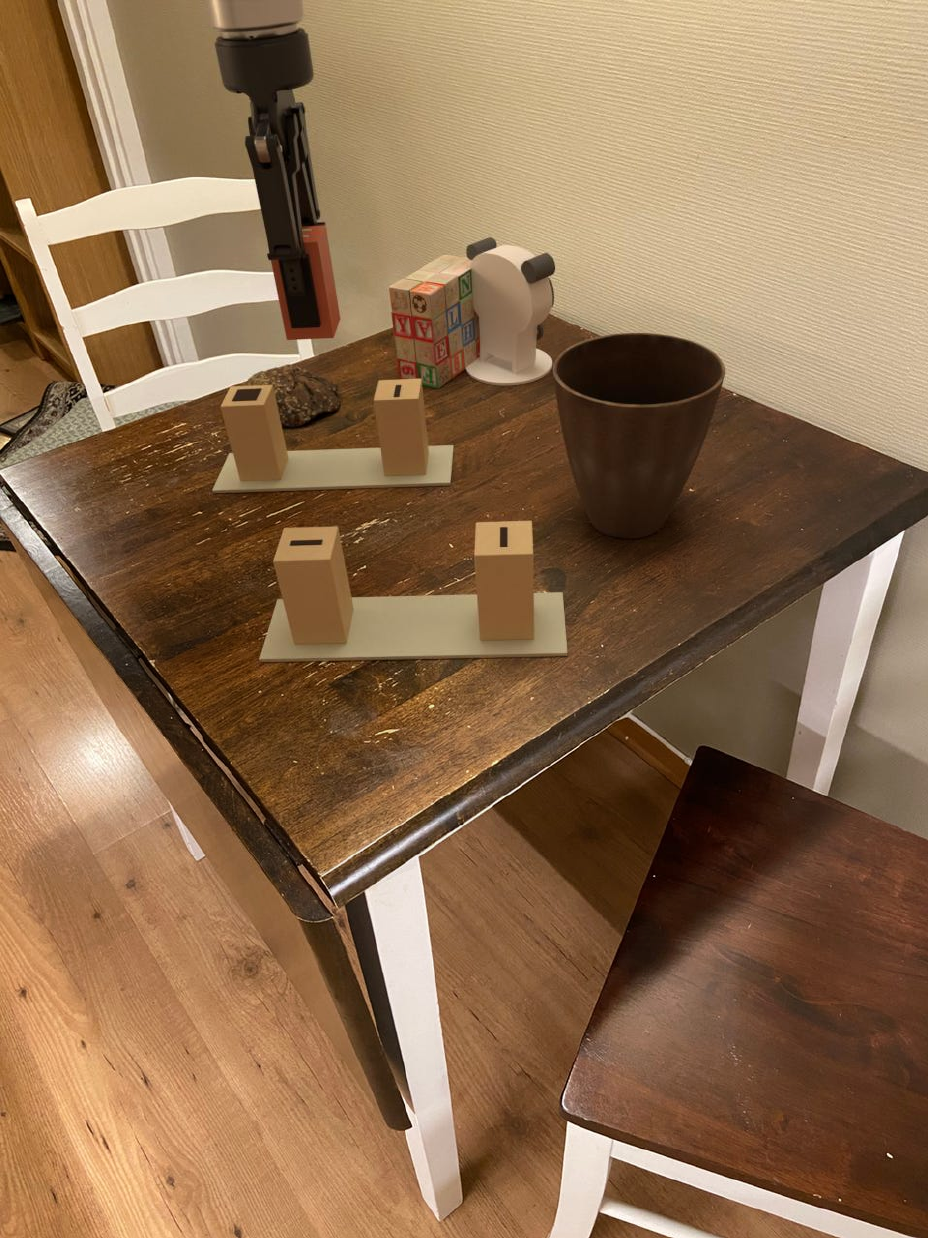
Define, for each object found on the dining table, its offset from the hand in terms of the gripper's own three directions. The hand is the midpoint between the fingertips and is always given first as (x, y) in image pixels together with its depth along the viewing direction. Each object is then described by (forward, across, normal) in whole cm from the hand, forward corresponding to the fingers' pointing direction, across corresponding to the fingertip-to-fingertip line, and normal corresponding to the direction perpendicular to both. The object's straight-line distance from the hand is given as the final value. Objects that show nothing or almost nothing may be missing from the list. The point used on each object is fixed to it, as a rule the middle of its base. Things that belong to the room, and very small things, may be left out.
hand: (310, 314), depth 86 cm
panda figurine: (+18, +26, -19) cm, 37 cm away
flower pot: (+18, -10, -30) cm, 37 cm away
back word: (+18, +1, 0) cm, 18 cm away
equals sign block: (+2, 0, 0) cm, 2 cm away
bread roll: (+18, +17, +9) cm, 26 cm away
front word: (+18, -26, -11) cm, 33 cm away
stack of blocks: (+18, +30, -13) cm, 38 cm away
